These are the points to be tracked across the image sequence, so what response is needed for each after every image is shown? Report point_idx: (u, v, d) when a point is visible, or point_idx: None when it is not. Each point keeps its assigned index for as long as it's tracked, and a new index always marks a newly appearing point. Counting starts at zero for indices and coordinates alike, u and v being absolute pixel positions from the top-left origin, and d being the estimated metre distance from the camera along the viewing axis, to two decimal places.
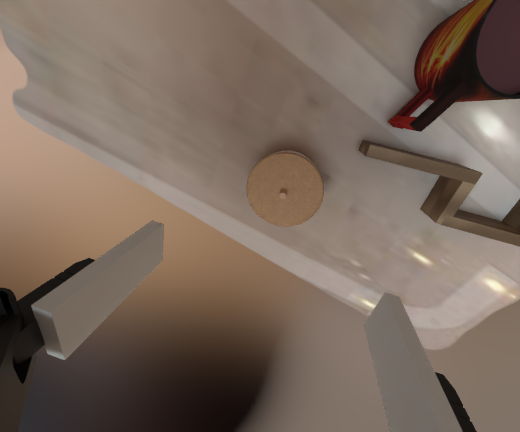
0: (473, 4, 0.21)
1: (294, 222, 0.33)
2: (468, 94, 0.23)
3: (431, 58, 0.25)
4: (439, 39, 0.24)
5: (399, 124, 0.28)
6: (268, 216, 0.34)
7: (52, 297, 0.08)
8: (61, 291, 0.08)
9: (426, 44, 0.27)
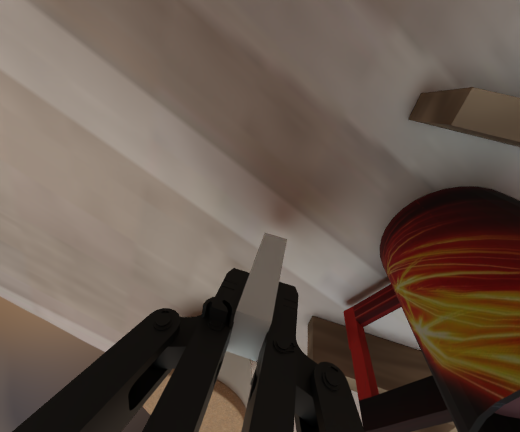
0: (470, 277, 0.10)
1: None
2: None
3: (399, 283, 0.15)
4: (410, 268, 0.13)
5: None
6: None
7: (245, 303, 0.10)
8: (247, 298, 0.10)
9: (394, 235, 0.16)
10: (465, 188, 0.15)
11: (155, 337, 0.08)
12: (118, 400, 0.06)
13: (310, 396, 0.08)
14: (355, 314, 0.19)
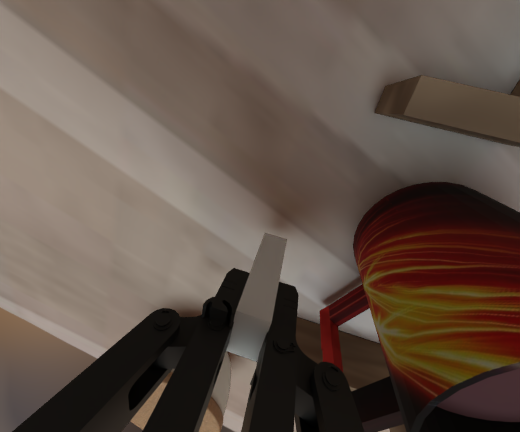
0: (422, 273, 0.10)
1: None
2: None
3: (365, 281, 0.14)
4: (374, 265, 0.13)
5: None
6: None
7: (245, 303, 0.10)
8: (247, 298, 0.10)
9: (364, 233, 0.16)
10: (433, 184, 0.15)
11: (155, 337, 0.08)
12: (118, 400, 0.06)
13: (310, 396, 0.08)
14: (330, 313, 0.19)
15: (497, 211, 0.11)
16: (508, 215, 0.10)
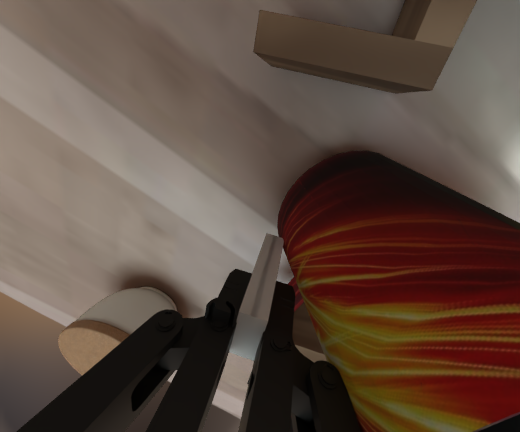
0: (351, 285, 0.08)
1: None
2: None
3: (297, 283, 0.13)
4: (301, 269, 0.11)
5: None
6: None
7: (248, 304, 0.10)
8: (250, 299, 0.10)
9: (285, 226, 0.14)
10: (341, 156, 0.14)
11: (158, 338, 0.08)
12: (121, 401, 0.06)
13: (306, 395, 0.08)
14: None
15: (406, 183, 0.10)
16: (418, 187, 0.10)
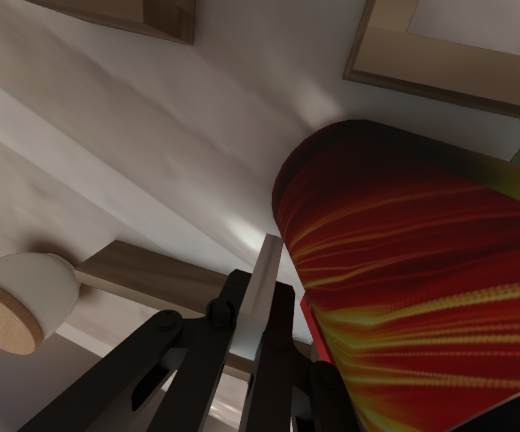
0: (324, 289, 0.08)
1: (20, 352, 0.25)
2: None
3: None
4: (297, 272, 0.11)
5: None
6: None
7: (248, 304, 0.10)
8: (250, 299, 0.10)
9: (279, 228, 0.14)
10: (307, 141, 0.13)
11: (158, 338, 0.08)
12: (121, 401, 0.06)
13: (306, 395, 0.08)
14: (307, 305, 0.18)
15: (365, 157, 0.09)
16: (376, 158, 0.09)
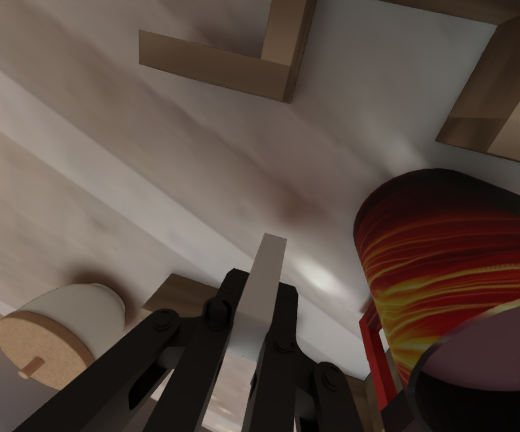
0: (387, 274, 0.11)
1: None
2: None
3: None
4: (366, 273, 0.15)
5: None
6: (38, 379, 0.25)
7: (245, 303, 0.10)
8: (247, 298, 0.10)
9: (357, 242, 0.18)
10: (396, 179, 0.16)
11: (155, 337, 0.08)
12: (118, 400, 0.06)
13: (310, 396, 0.08)
14: (366, 322, 0.20)
15: (441, 193, 0.12)
16: (449, 195, 0.12)
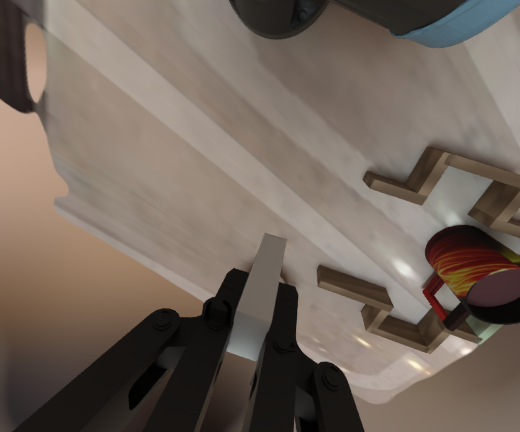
0: (454, 266, 0.34)
1: None
2: None
3: (438, 272, 0.38)
4: (439, 266, 0.37)
5: None
6: None
7: (245, 303, 0.10)
8: (247, 298, 0.10)
9: (429, 253, 0.40)
10: (449, 228, 0.39)
11: (155, 337, 0.08)
12: (118, 400, 0.06)
13: (310, 396, 0.08)
14: (428, 290, 0.43)
15: (472, 239, 0.35)
16: (475, 240, 0.34)
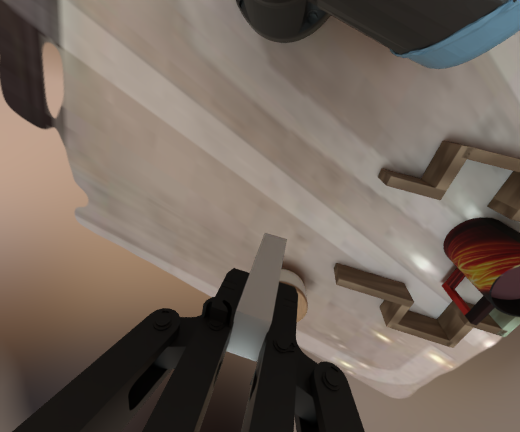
0: (476, 260, 0.34)
1: None
2: None
3: (458, 267, 0.38)
4: (459, 261, 0.37)
5: (454, 300, 0.40)
6: None
7: (245, 303, 0.10)
8: (247, 298, 0.10)
9: (448, 248, 0.40)
10: (468, 221, 0.39)
11: (155, 337, 0.08)
12: (118, 400, 0.06)
13: (310, 396, 0.08)
14: (448, 285, 0.42)
15: (492, 232, 0.34)
16: (496, 233, 0.34)
